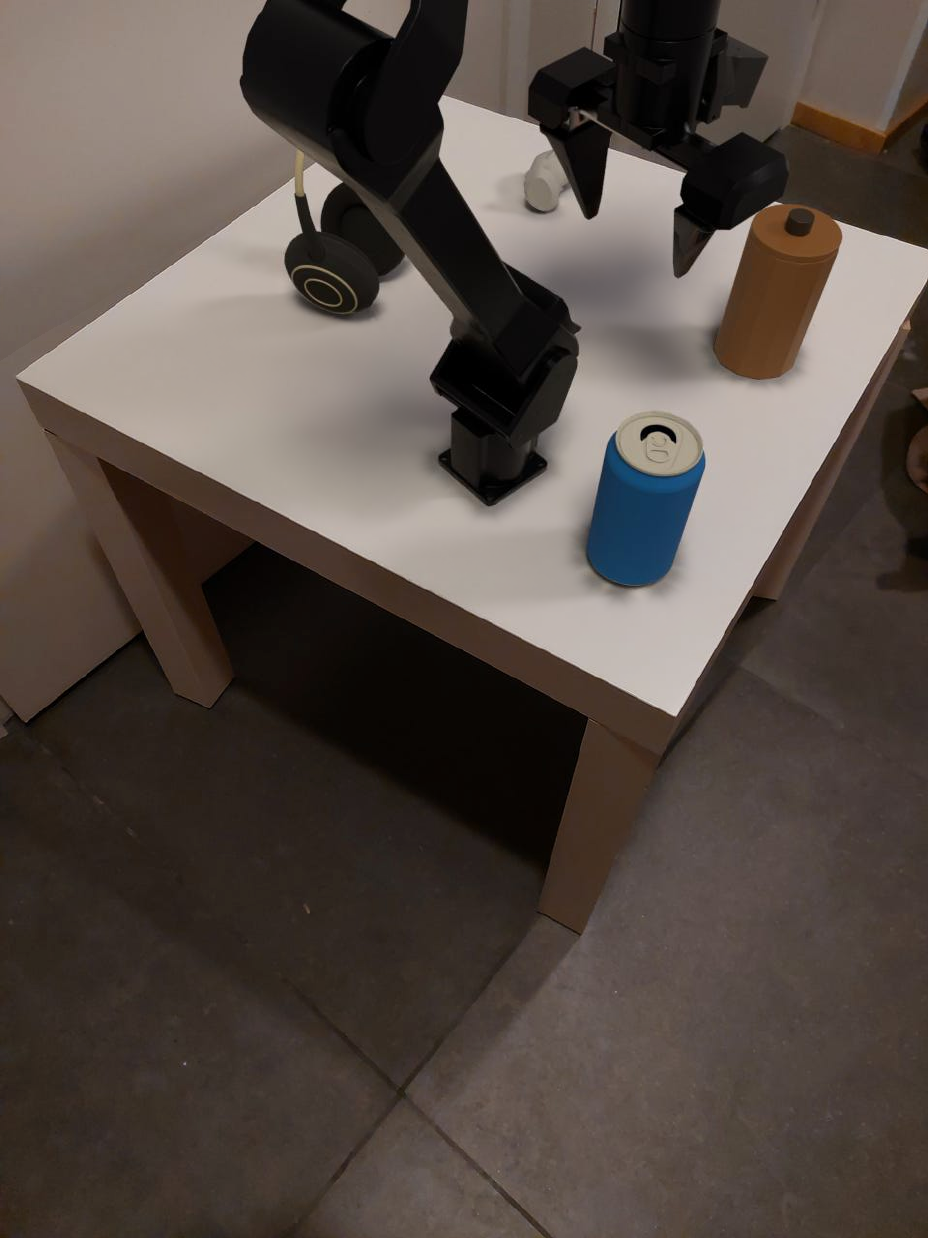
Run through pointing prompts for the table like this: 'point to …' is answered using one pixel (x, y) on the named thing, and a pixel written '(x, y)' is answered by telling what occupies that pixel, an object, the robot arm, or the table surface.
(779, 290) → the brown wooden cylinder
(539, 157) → the pale two-lobed sculpture
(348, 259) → the headphones
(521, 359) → the robot arm
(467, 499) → the table surface
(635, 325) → the table surface
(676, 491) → the beverage can
